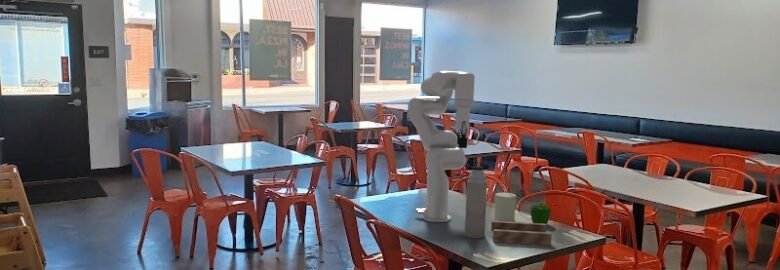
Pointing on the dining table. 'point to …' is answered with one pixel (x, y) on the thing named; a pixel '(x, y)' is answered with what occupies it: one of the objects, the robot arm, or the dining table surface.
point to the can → (505, 207)
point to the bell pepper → (540, 213)
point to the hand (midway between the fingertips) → (461, 146)
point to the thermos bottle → (476, 203)
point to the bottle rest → (520, 233)
